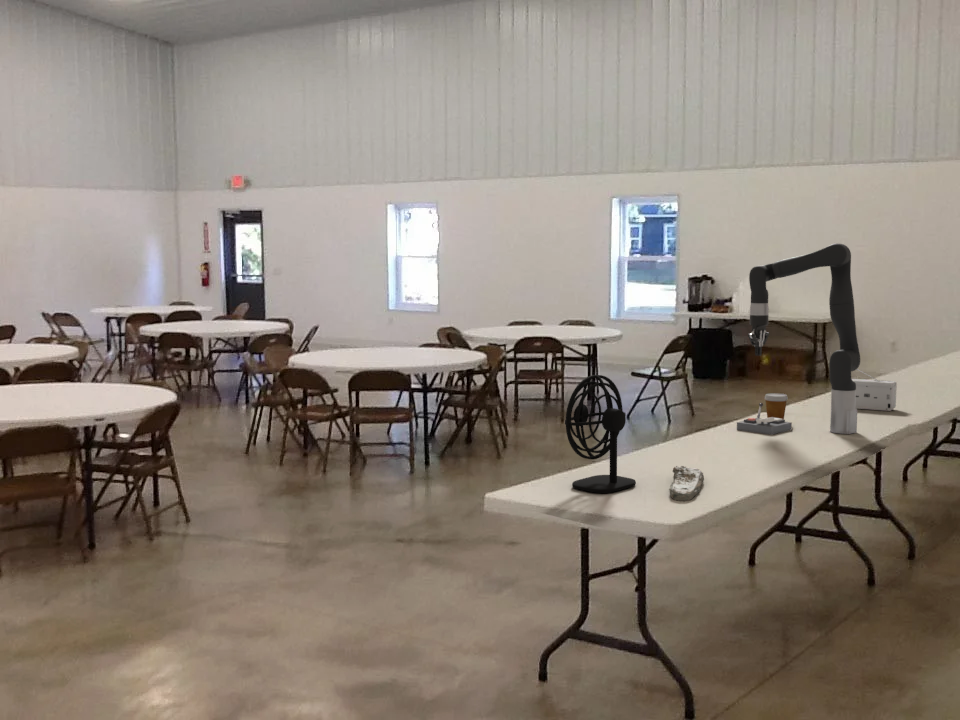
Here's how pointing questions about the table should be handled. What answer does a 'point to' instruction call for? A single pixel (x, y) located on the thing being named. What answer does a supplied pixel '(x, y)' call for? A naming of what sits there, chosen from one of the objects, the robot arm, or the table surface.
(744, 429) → the panel
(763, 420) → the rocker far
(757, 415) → the toggle
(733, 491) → the table surface
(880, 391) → the stereo radio cassette player
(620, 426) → the desk fan
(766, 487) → the table surface
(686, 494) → the long grey stone
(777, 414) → the disposable coffee cup
